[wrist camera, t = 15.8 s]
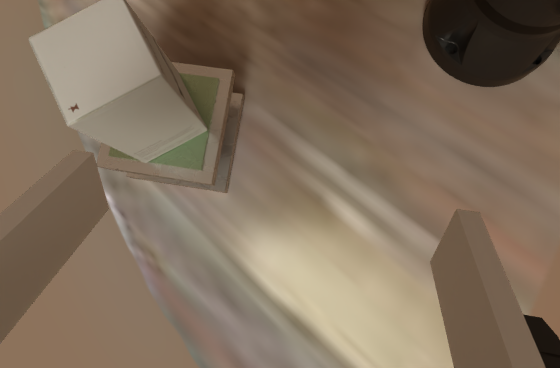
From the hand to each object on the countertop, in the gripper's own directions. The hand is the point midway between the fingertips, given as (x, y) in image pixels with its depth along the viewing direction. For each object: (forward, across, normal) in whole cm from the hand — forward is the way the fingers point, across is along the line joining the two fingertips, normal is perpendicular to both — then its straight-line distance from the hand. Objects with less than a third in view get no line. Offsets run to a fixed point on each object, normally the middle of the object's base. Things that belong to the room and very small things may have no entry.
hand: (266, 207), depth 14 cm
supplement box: (+21, -14, -9) cm, 27 cm away
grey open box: (+27, -14, -15) cm, 34 cm away
